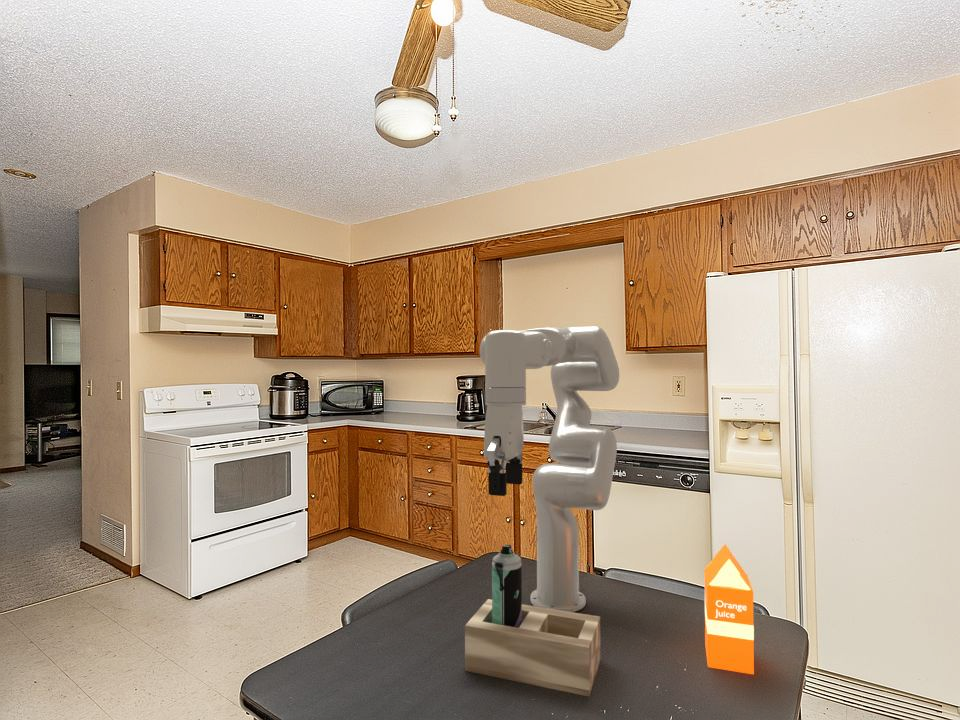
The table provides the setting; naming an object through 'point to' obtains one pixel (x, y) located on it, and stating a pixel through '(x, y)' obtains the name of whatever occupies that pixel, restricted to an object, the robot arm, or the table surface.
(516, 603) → the spray can
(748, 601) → the orange juice
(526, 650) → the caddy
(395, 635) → the table surface
